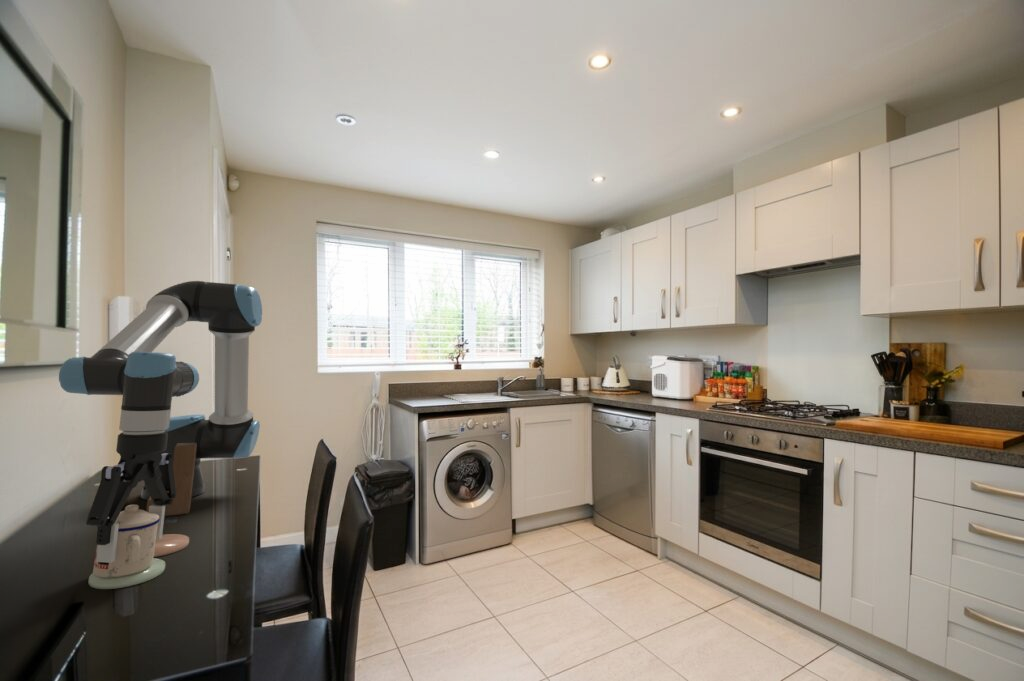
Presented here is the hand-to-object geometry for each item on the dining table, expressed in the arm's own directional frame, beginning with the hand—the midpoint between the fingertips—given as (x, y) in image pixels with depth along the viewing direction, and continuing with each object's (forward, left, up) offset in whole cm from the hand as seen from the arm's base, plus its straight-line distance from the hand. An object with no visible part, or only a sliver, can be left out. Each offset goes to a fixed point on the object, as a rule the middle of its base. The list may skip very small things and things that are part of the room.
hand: (131, 549), depth 84 cm
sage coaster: (0, 0, -5) cm, 5 cm away
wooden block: (-32, -18, -5) cm, 37 cm away
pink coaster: (-12, -4, -5) cm, 14 cm away
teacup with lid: (+1, 0, -4) cm, 4 cm away
